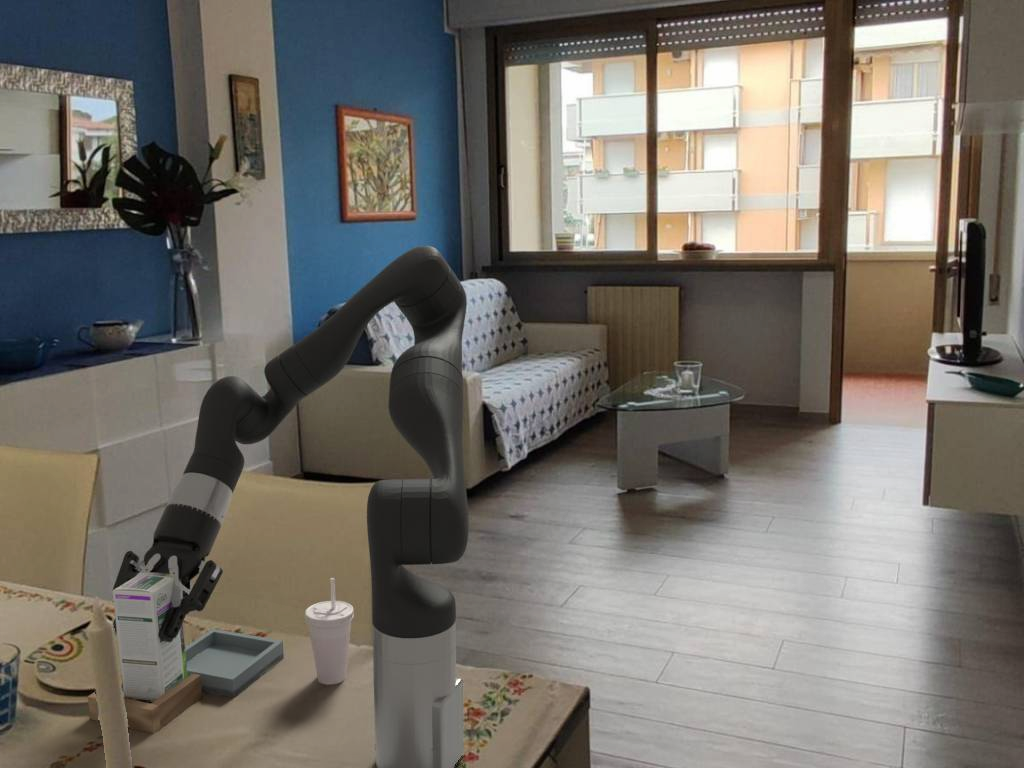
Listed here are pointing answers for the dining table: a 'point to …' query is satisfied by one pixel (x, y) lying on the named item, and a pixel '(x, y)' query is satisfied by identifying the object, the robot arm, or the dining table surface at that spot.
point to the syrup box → (147, 637)
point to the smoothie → (330, 637)
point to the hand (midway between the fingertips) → (141, 636)
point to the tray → (231, 660)
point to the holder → (157, 705)
